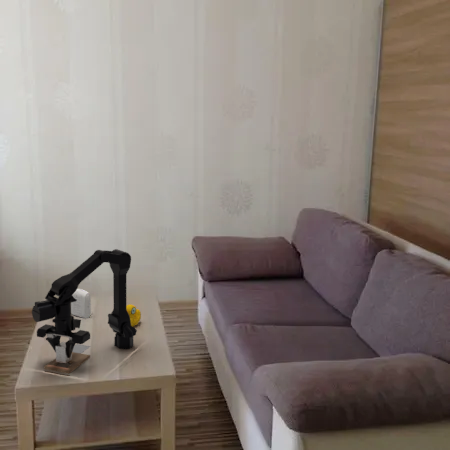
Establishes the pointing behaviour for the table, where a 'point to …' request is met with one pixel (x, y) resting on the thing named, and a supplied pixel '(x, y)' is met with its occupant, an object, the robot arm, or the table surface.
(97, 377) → the table surface
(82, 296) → the photo printer
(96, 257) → the robot arm
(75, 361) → the board
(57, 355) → the block
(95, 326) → the table surface
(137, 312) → the duckling
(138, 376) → the table surface
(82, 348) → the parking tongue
